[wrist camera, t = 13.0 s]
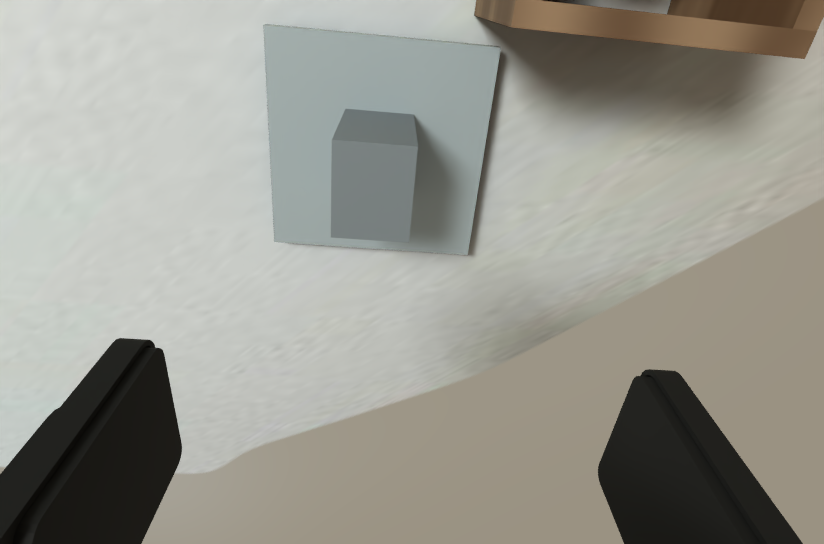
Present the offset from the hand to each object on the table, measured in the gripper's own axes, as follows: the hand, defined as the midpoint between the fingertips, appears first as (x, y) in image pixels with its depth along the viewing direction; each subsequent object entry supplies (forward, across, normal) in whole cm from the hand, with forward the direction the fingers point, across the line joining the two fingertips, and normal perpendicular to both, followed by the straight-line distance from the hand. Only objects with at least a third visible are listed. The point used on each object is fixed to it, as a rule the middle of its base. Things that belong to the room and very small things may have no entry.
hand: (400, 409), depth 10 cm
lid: (+24, +1, +1) cm, 25 cm away
